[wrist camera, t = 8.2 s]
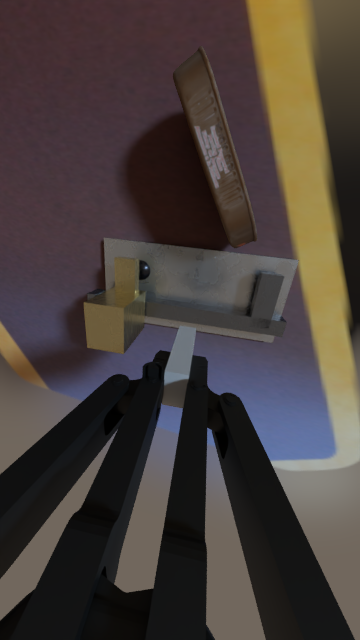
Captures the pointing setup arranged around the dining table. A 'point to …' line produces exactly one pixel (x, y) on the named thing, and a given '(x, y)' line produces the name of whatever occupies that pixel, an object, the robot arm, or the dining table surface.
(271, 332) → the grey slide rail base
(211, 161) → the tin
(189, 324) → the bolt plate
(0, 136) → the dining table surface
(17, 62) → the dining table surface
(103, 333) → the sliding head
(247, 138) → the dining table surface
